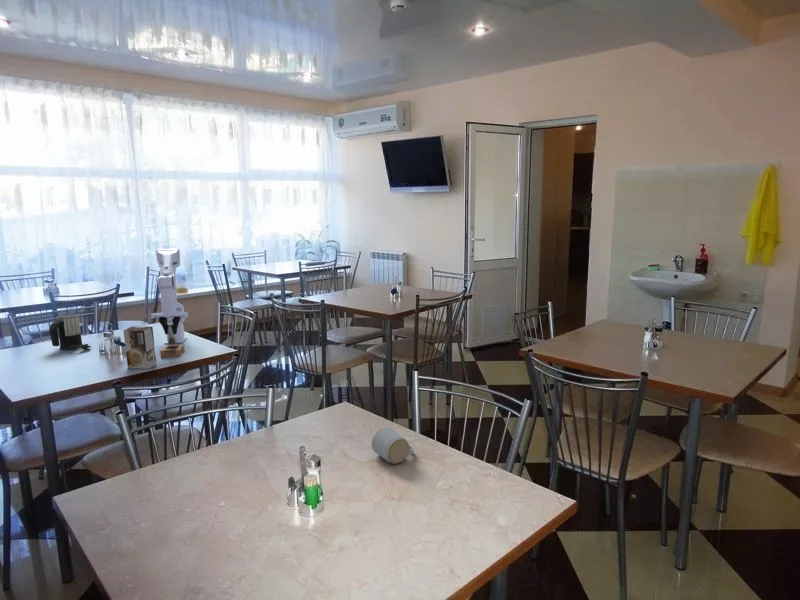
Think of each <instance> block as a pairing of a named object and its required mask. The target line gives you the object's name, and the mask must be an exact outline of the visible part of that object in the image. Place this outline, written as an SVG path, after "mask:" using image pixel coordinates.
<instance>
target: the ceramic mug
mask: <svg viewBox="0 0 800 600" xmlns="http://www.w3.org/2000/svg"><path fill="white" fill-rule="evenodd" d="M371 448H372V451H373V452H374V453H375V454H377V455H378V456H380V457H381V458H383V459H384V460H385V461H387V462H388V463H390V464H392V465H397V464H396V463H398V464H400V463H399V462H401V463H402V462H404V461H405V460H406V458H407V457H408V456H410V455H412V454H413V455H414V452H415V449H414V447H412V446H410V444H409V442H408V440H407V439H406V438H404V436H403V435H401V434H399V433H398V432H397V431H396V430H394V429H393V428H391V427H390V426H389V427H388V426H384V427H381V428H379V429H378V430H377V431H376V432H375V434H373V436H372V440H371ZM413 455H412V456H413ZM403 460H404V461H403Z"/></svg>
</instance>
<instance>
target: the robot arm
mask: <svg viewBox="0 0 800 600" xmlns="http://www.w3.org/2000/svg"><path fill="white" fill-rule="evenodd" d="M155 254H156V255H155V256H156V261H157V264H158V266H159V277H157V285H158V290H159V294H160V302H161V303H160V304H161V305H160V306H161V312H153V313H151V314H150V316H151V319H152V320H153V319H158V322H159V324H160V325H161V326H162V329H163V331H164V334H165V335H166V340H165V341H164V345H170V343H168V335H167V325H168V324H173V326H174V334H175V340H176V342H175V343H174V344H182V343H184V342H185V340H186V339H187V338H188V337H187V336H185V327H184V326H185V325H184V324H183V323H184V322H185V321H186V318H188V315H189V314H188V311H187V312H186V311H185V307H184V306H183V304H181V303H180V302H178V297H177V296H178V294H177V280H176V279H177V277H176V272H177V271H176V269H177V268H179V267H180V266H181V252H180V248H157V249H156V253H155Z"/></svg>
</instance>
